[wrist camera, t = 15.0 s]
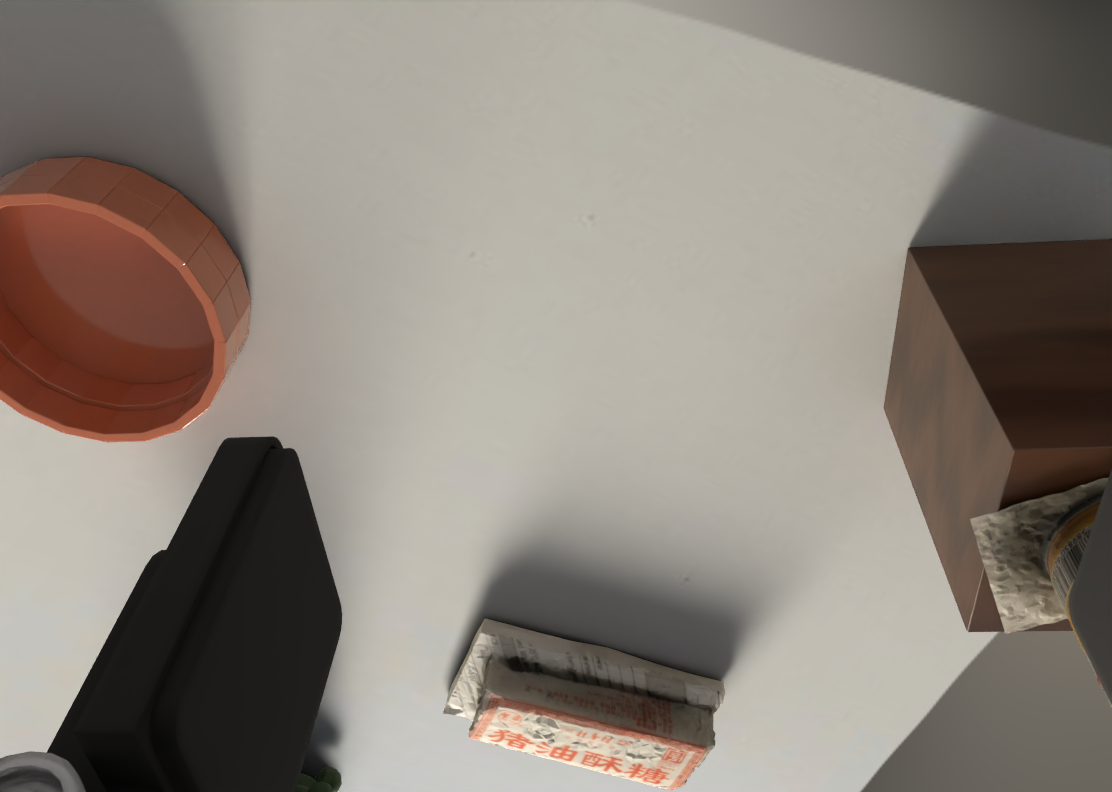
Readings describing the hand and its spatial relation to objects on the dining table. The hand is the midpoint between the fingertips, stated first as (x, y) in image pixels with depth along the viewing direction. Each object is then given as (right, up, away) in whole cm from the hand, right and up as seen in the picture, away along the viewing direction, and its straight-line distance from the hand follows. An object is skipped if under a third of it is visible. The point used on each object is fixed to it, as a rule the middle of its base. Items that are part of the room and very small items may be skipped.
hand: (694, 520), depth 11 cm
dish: (-25, +7, +41) cm, 49 cm away
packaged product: (0, -19, +59) cm, 62 cm away
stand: (+21, +5, +40) cm, 46 cm away
